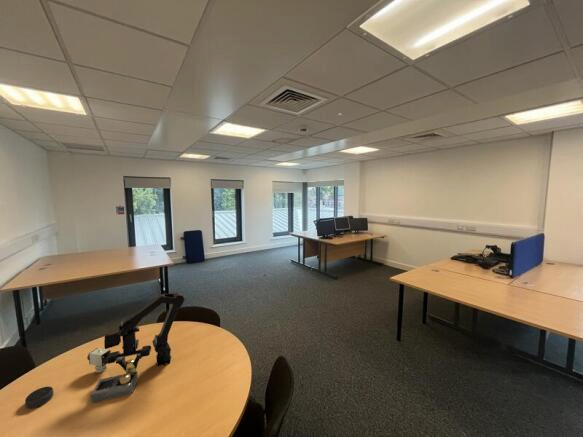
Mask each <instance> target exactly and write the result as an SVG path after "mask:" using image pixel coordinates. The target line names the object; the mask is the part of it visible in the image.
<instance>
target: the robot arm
mask: <svg viewBox="0 0 583 437" xmlns="http://www.w3.org/2000/svg"><path fill="white" fill-rule="evenodd" d="M184 302H185V297H184V295H183V294H181V292H177V291H176V292H173V293H164V294H163V293H161V294H158V296H156V297H155V298H154V299H153V300H151V301H149V302H148V303H147V304H145V305H144V306H143V307H141V308H140V309H139V310H137V311H135V312H132V313H130V314H128V315H126V316H124V317H123V318H122V319H121V324H120V325H119V326H118V327H117V330H116V331H115V332H111V333H106V334H104V335H103V336H104V342H103V345H104V348H105V349H107V350H109V349H111V348H113V347H114V348H115V347H118V346H119V345H120V344H121V343H122V347H121V348H122V353H121V352H120V351H119V350H117V351H111V354H110V355H109V357H108V358H107V364H106V365H109V364H113V363H115V364H118V365H119V366H121V368H122V369H123V370H124V371H125V372H126V361H127V360H126V358H127V357H131V356H135V358H134V359H135V368H136V369H137V368H138V365H139V361H140V359H143V358H144V357H149V356H150V355H151V352H152V347H153V349H154V351H155V353H156V363H157V367H159V366H164V365H168V364H169V365H170V364H171V359H172V355H171V354H172V353H171V351H172V348H171V347H170V344H169V342H168V339H169V338H168V337H169V333H170V332H171V331H170V330H171V329H172V326H173V323H174V320H175V317H176V316H177V313H178V312H179V309H180V308H181V307H182V305H183V304H184ZM162 304H167V305H168V304H169V308H168V311H167V314H166V317H165V320H164V322H163V325H162V327H161V330H160V332H159V333H158V334H154V337H153V340H152V341H151V342H152V345H151V344H150V345H144V346H142V348H139V344H140V340H139V339H136V338H137V337H136V336H137V335H136V333H137V332H138V333H139V332H140V328H139V327H138V326H137V325H139V323H140V322H141V321H142V319H144V318H145V317H147V315H149V314H150V313H152V312H153V311H155V310H156V309H157V308H158V307H159V306H161V305H162ZM121 338H122V339H121ZM138 348H139V349H138Z"/></svg>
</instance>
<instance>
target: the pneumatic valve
mask: <svg viewBox="0 0 583 437" xmlns="http://www.w3.org/2000/svg"><path fill="white" fill-rule="evenodd" d="M111 352H112V350H111V349H105V347H104V348H98V347H97V348H95V349H93V350H92V351H90V352H88V355H87V357H86V359H87V361H88V362H89V365H92V366H94V369H95V373H98V374H99V373H100V374H101V373H103V372H105V371H106V370H107V368H108V367H107V365H108V364H107V358H108V357H109V355H110V354H111Z"/></svg>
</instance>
